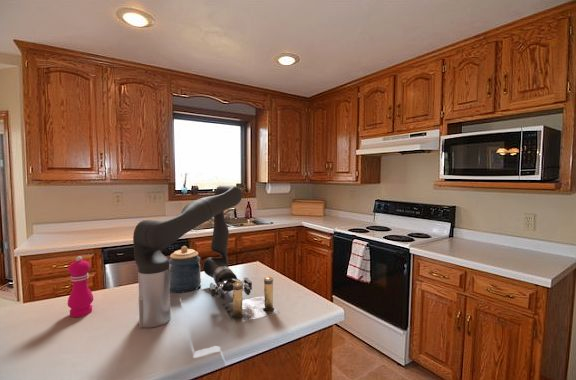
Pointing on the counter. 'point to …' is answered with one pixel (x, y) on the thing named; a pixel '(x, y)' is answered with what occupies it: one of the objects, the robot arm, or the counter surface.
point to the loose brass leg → (237, 300)
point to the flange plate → (250, 309)
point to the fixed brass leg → (268, 293)
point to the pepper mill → (80, 289)
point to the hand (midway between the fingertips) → (236, 294)
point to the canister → (184, 270)
